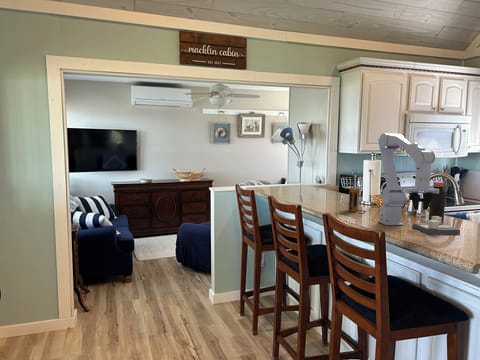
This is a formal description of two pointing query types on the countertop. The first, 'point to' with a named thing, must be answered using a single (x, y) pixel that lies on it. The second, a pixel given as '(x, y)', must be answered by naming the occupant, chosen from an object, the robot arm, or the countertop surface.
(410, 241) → the countertop surface
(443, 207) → the bottle
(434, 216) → the tab back
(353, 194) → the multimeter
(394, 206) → the robot arm
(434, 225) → the tab front
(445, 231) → the switch panel
